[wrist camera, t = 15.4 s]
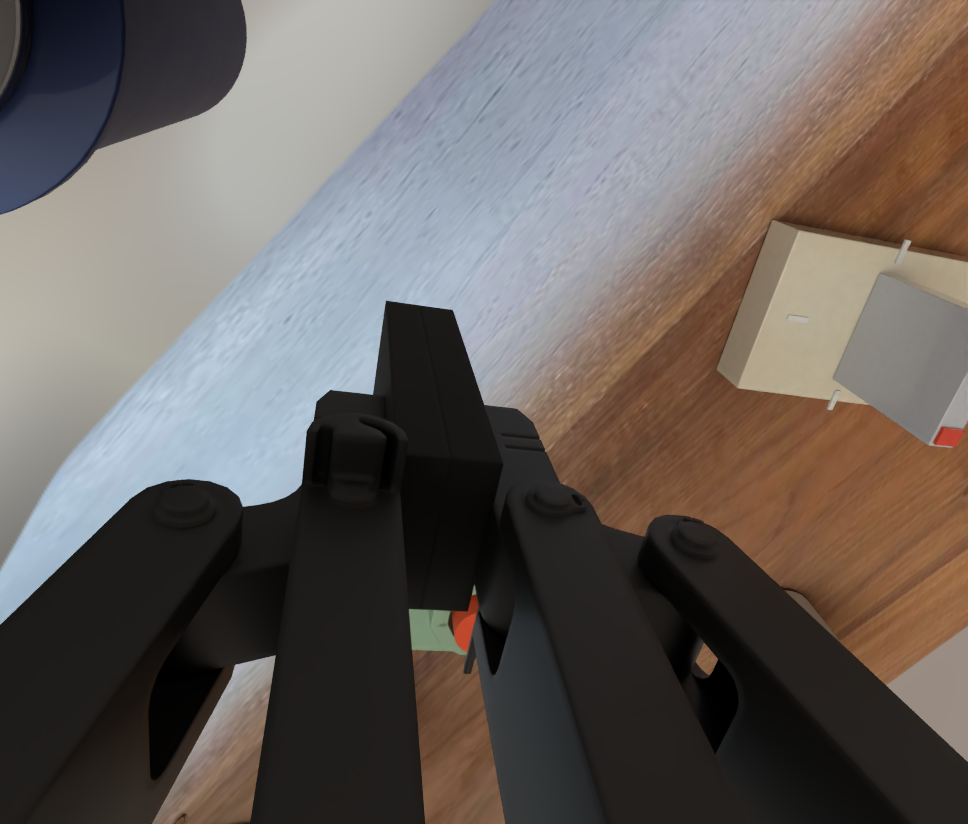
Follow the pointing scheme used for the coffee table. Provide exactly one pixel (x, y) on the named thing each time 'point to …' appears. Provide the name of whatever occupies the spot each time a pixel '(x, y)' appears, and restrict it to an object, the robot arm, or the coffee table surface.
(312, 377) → the coffee table surface
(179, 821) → the place setting
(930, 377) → the grey flat rectangular block
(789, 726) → the robot arm
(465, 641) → the button
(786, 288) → the base
